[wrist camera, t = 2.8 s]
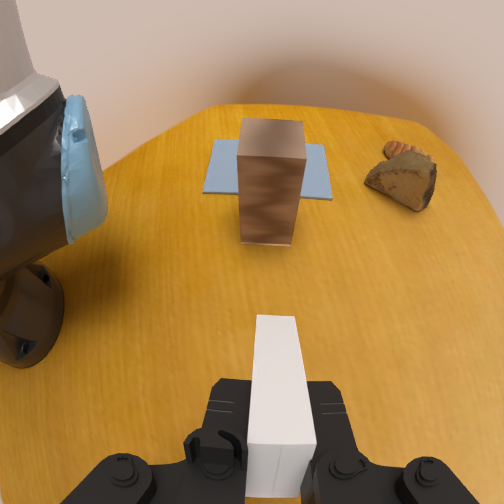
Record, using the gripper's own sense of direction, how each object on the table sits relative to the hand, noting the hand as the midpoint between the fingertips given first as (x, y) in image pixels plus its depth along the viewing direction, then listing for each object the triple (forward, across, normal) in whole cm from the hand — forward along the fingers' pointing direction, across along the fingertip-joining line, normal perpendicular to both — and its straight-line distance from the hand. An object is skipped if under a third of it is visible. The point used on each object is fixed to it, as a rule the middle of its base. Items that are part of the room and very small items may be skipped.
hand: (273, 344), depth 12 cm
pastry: (+38, +24, +12) cm, 47 cm away
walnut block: (+27, 0, +1) cm, 27 cm away
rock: (+33, +20, +6) cm, 39 cm away
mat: (+35, 0, +9) cm, 36 cm away
